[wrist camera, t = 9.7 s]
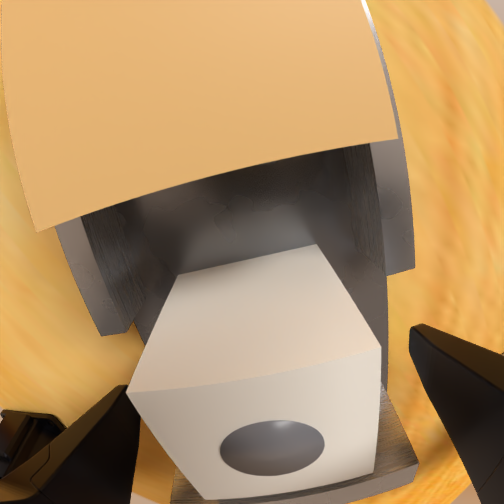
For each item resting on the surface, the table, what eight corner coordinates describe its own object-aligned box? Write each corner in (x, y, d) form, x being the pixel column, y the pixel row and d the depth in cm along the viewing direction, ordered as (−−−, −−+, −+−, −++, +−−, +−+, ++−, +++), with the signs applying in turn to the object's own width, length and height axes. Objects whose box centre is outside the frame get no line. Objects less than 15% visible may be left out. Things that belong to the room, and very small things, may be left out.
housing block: (332, 355, 13) (373, 473, 7) (216, 378, 13) (204, 500, 7) (316, 243, 11) (381, 348, 5) (178, 274, 11) (124, 394, 5)
